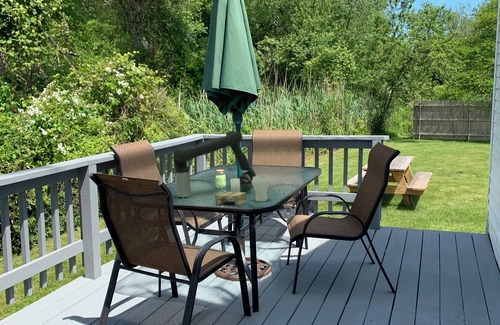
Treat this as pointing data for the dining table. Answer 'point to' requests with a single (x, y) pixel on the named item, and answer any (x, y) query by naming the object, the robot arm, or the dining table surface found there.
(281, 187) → the dining table surface
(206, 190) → the dining table surface
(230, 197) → the shelf stand
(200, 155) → the robot arm
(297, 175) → the dining table surface
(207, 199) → the dining table surface
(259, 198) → the cup
